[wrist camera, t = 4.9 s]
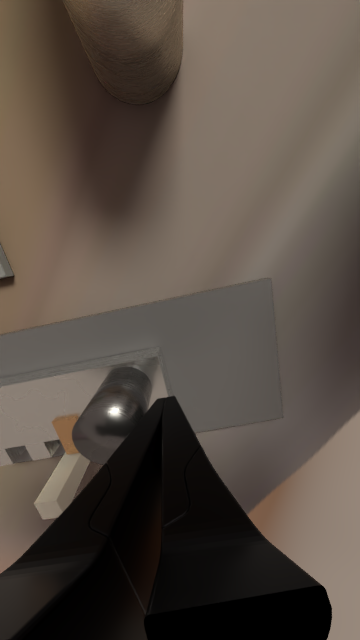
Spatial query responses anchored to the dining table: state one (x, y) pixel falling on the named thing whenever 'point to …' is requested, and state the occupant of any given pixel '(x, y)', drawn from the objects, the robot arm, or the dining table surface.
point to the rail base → (166, 362)
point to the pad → (4, 265)
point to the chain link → (131, 44)
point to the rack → (79, 406)
